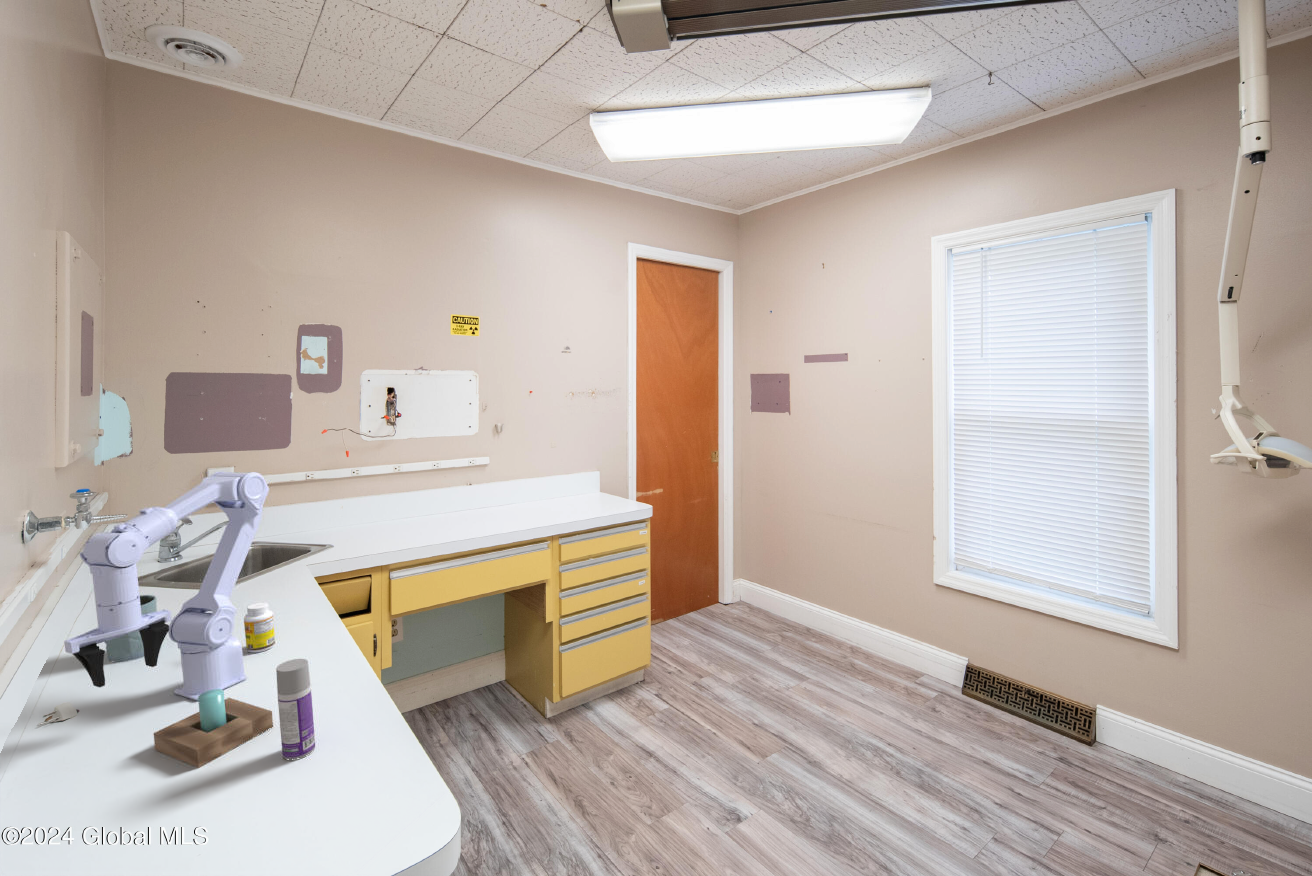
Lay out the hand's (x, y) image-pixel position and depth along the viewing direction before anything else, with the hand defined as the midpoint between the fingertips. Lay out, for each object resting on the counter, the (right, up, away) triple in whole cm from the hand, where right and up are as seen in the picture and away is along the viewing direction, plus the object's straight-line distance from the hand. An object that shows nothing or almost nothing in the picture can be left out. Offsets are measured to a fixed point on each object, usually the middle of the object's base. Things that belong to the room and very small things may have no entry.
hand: (126, 675), depth 105 cm
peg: (+17, -10, -2) cm, 20 cm away
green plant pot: (-26, -8, +31) cm, 41 cm away
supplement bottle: (+2, -7, +33) cm, 33 cm away
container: (+34, -10, -6) cm, 36 cm away
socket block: (+18, -10, -2) cm, 20 cm away
